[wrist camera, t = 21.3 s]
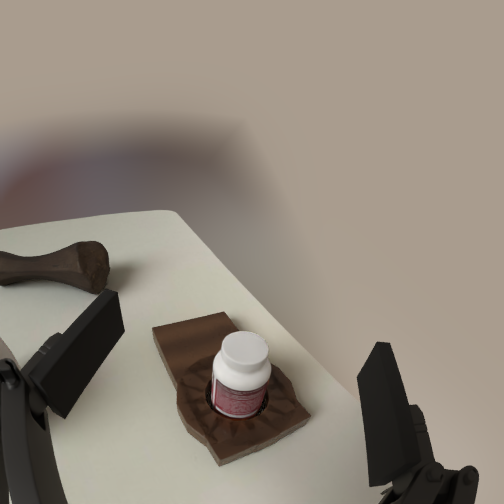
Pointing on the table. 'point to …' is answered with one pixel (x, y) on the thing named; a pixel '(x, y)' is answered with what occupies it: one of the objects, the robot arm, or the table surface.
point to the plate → (200, 383)
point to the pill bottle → (240, 376)
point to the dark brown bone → (61, 266)
